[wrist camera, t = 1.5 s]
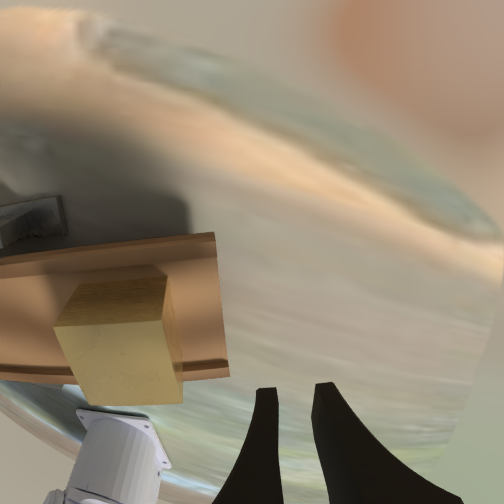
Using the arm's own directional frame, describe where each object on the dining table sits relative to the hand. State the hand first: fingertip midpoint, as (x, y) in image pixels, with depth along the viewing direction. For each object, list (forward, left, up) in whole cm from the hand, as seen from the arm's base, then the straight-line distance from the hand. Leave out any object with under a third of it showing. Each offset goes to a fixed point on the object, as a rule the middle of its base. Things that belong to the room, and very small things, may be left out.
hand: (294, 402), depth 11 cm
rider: (0, +8, -6) cm, 10 cm away
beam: (0, +17, -9) cm, 20 cm away
